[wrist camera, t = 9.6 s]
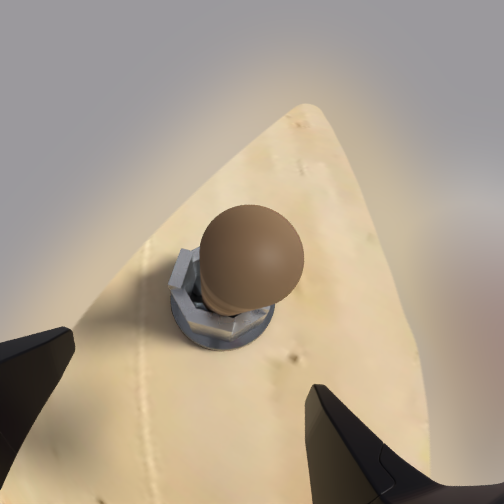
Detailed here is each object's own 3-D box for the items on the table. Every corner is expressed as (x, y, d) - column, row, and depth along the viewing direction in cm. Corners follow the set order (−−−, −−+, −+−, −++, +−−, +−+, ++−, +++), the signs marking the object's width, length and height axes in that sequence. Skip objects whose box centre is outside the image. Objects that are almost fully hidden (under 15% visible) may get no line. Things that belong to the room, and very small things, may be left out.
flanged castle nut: (262, 361, 21) (272, 353, 17) (159, 334, 22) (144, 319, 17) (280, 268, 26) (292, 240, 22) (189, 247, 26) (184, 216, 22)
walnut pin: (244, 317, 22) (306, 306, 9) (201, 316, 22) (198, 307, 8) (244, 274, 23) (300, 208, 10) (202, 273, 23) (201, 202, 9)
